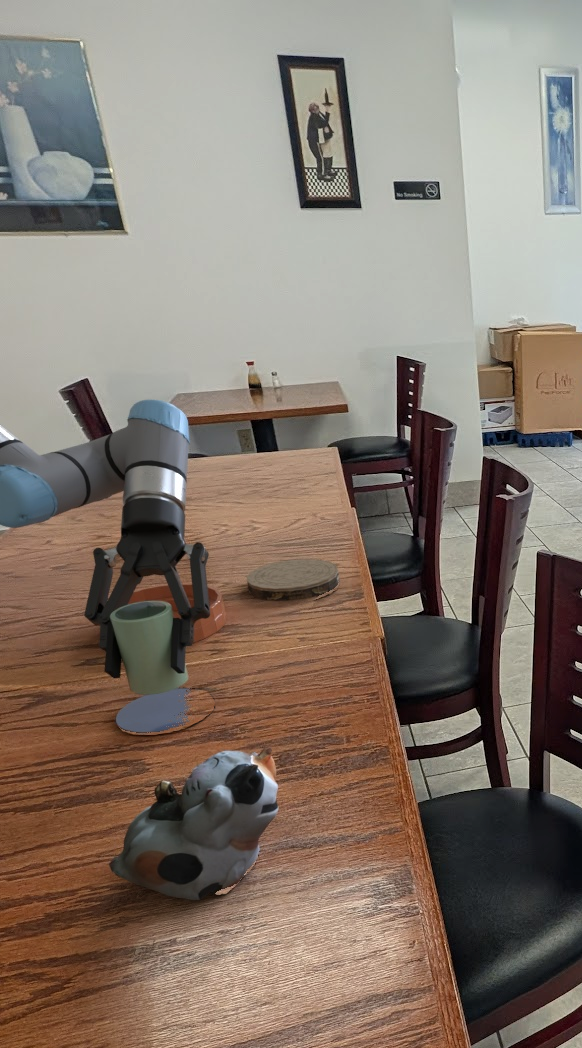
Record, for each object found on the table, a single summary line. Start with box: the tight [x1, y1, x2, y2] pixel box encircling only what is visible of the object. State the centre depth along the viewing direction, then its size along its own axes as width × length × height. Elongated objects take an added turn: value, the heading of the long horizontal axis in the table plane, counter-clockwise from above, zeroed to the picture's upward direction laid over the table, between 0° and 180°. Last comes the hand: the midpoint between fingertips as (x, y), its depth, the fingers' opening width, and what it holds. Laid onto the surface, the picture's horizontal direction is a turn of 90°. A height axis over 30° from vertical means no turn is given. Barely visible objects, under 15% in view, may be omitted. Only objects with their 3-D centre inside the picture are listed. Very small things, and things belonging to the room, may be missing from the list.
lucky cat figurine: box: [108, 745, 279, 901], centre depth 78 cm, size 15×12×14 cm
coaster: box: [115, 687, 199, 733], centre depth 108 cm, size 12×12×1 cm
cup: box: [110, 601, 190, 696], centre depth 104 cm, size 7×7×10 cm
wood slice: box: [246, 558, 341, 602], centre depth 149 cm, size 16×16×3 cm
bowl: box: [98, 582, 228, 644], centre depth 131 cm, size 18×18×5 cm
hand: (145, 672), depth 102 cm, fingers closed on cup, 7 cm apart
